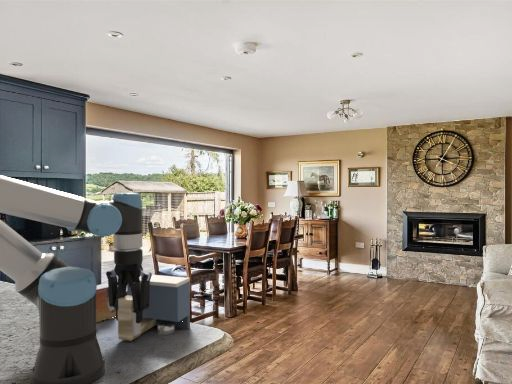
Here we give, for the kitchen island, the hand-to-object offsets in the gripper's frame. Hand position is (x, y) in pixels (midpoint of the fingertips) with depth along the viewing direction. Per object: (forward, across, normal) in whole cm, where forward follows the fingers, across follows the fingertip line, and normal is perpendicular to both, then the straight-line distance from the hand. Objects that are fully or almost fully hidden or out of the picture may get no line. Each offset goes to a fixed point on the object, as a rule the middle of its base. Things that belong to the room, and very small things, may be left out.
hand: (129, 333), depth 114 cm
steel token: (+2, -6, -9) cm, 11 cm away
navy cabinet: (+2, -3, -10) cm, 11 cm away
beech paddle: (+1, 0, -4) cm, 5 cm away
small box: (+2, +20, -12) cm, 23 cm away
